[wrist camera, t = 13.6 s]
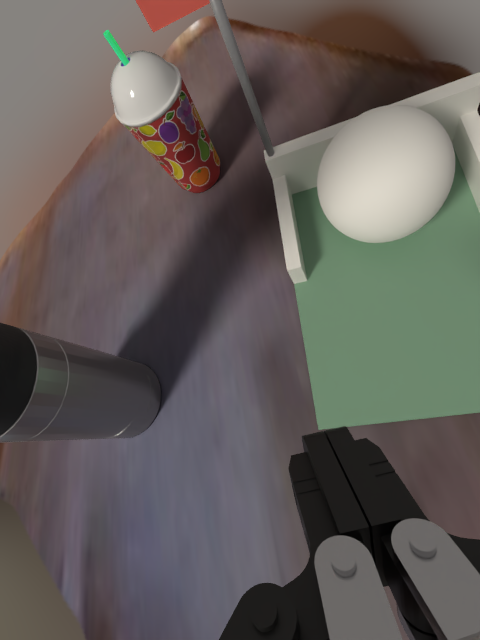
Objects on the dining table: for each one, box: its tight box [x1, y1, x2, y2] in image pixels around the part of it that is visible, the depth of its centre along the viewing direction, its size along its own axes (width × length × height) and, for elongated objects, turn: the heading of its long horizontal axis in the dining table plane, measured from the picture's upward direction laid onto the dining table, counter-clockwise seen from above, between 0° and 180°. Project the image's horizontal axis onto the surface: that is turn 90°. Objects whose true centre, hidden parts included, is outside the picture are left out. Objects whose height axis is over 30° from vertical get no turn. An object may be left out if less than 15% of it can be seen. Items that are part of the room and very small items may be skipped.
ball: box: [317, 105, 455, 243], centre depth 33 cm, size 12×12×12 cm
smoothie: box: [103, 30, 220, 193], centre depth 40 cm, size 8×8×20 cm
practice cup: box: [136, 0, 480, 430], centre depth 26 cm, size 25×30×25 cm
